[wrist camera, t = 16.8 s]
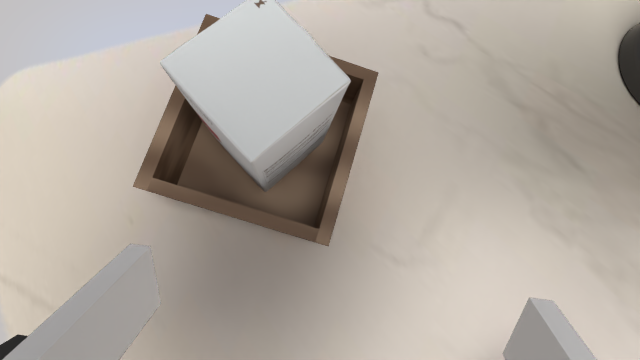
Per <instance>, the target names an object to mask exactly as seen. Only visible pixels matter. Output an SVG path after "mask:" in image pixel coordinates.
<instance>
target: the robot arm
mask: <svg viewBox="0 0 640 360" xmlns="http://www.w3.org/2000/svg"><path fill="white" fill-rule="evenodd" d="M619 62H620V69H621V73H622V76H623V79H624V81H625V83H626V85H627V87H628V89H629V91H630V92H631V94H632V95H633V96H634V98H635V99H636V100H637V101H638V102H639V103H640V23H639V24H638V25H636V26H634V27H633V28H632V29H631V30H630V31H629V32H628V33H627V34H626V36H625V37H624V39H623V41H622V44H621V47H620V54H619ZM160 304H161V300H160V295H159V289H158V284H157V278H156V273H155V267H154V262H153V256H152V251H151V246H144V245H136V244H130V245H128V246H127V247H126V248H125V249H124V250H123V251H122V252H121V253H120V254H118V255H117V256H116V257H115V258H114V259H113V260H112V261H111V262H110V263H109V264H107V265H106V266H105V267H104V268H103V269H102V270H101V271H100V272H99V273H97V274H96V275H95V276H94V277H93V278H92V279H91V280H90V281H89V282H88V283H86V284H85V285H84V286H83V287H82V288H81V289H80V290H79V291H78V292H76V293H75V294H74V295H73V296H72V297H71V298H70V299H69V300H68V301H67V302H65V303H64V304H63V305H62V306H61V307H60V308H59V309H58V310H57V311H55V312H54V313H53V314H52V315H51V316H50V317H49V318H48V319H47V320H46V321H44V322H43V323H42V324H41V325H40V326H39V327H38V328H37V329H36V330H34V331H33V332H32V333H31V334H30V335H29V336H24V335H16V336H15V337H13V338H11V339H10V340H8V341H6V342H5V343H3V344H1V345H0V360H119V359H120V358H121V357H122V355H123V354H124V353H125V351H126V350H127V349H128V347H129V346H130V345H131V343H132V342H133V340H134V339H135V338H136V336H137V335H138V334H139V332H140V331H141V330H142V328H143V327H144V326H145V324H146V323H147V322H148V320H149V319H150V318H151V316H152V315H153V314H154V312H155V311H156V309H157V308H158V307H159V305H160ZM503 356H504V358H505V360H597V359H596V357H595V356H594V355H593V353H592V352H591V351H590V349H589V348H588V347H587V345H586V344H585V343H584V341H583V340H582V339H581V337H580V336H579V335H578V333H577V332H576V331H575V329H574V328H573V327H572V325H571V324H570V323H569V321H568V320H567V318H566V317H565V316H564V314H563V313H562V312H561V310H560V309H559V308H558V306H557V305H556V304H555V302H554V301H552V300H544V299H537V298H530V297H529V299H528V301H527V303H526V305H525V307H524V309H523V312H522V314H521V316H520V318H519V320H518V322H517V324H516V326H515V328H514V331H513V333H512V335H511V337H510V339H509V341H508V343H507V345H506V347H505V350H504V352H503Z"/></svg>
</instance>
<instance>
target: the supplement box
mask: <svg viewBox="0 0 640 360" xmlns="http://www.w3.org/2000/svg"><path fill="white" fill-rule="evenodd" d="M160 64H161V66H162V67H163V69H164V70H165V71H166V73H167V74H168V75H169V77H170V78H171V79H172V81H173V82H174V83H175V85H176V86H177V87H178V89H179V90H180V92H181V93H182V94H183V96H184V97H185V98H186V100H187V101H188V102H189V104H190V105H191V106H192V108H193V109H194V110H195V112H196V113H197V114H198V116H199V117H200V118H201V120H202V121H203V122H204V124H205V125H206V126H207V128H208V129H209V130H210V132H211V133H212V134H213V136H214V137H215V138H216V139H217V140H218V141H219V143H220V144H221V145H222V146H223V147H224V148H225V149H226V150H227V152H228V153H229V154H230V155H231V156H232V157H233V158H234V159H235V160H236V161H237V163H238V164H239V165H240V166H241V167H242V168H243V169H244V170H245V171H246V172H247V173H248V175H249V176H250V177H251V178H252V179H253V180H254V181H255V182H256V183H257V184H258V185H259V186H260V188H261V189H262V190H263V191H265V192H267V191H268V190H269V189H271V188H272V187H273V186H274V185H275V184H276V183H277V182H278V181H280V180H281V179H282V178H283V177H284V176H285V175H286V174H287V173H289V172H290V171H291V170H292V169H293V168H294V167H295V166H297V165H298V164H299V163H300V162H301V161H302V160H303V159H304V158H306V157H307V156H308V155H309V154H310V153H311V152H312V151H313V150H315V149H316V148H317V147H318V146H319V145H320V144H321V143H322V142H323V141H324V138H325V136H326V134H327V131H328V129H329V127H330V125H331V122H332V120H333V118H334V116H335V113H336V111H337V109H338V107H339V105H340V102H341V100H342V98H343V96H344V94H345V92H346V90H347V88H348V86H349V84H350V82H351V80H350V78H349V77H348V76H347V75H346V74H345V73H344V72H343V71H342V70H341V69H340V68H339V67H338V66H337V64H336V63H335V62H334V61H333V60H332V59H331V58H330V57H329V56H328V55H327V54H326V53H325V52H324V51H323V50H322V49H321V48H320V47H319V45H318V44H317V43H316V42H315V41H314V40H313V38H312V37H311V35H310V34H309V33H308V32H307V31H306V30H305V29H304V28H303V27H301V26H300V25H299V24H298V23H297V22H296V21H295V20H294V19H293V18H292V17H291V16H290V15H289V14H288V13H287V12H286V11H285V9H284V8H283V7H282V6H281V5H280V4H279V3H278V2H277V1H276V0H246V1H245V2H243V3H242V4H240V5H239V6H238V7H236V8H235V9H233V10H232V11H231V12H229V13H228V14H226V15H225V16H224V17H222V18H221V19H219V20H218V21H217V22H215V23H214V24H212V25H211V26H209V27H208V28H207V29H205V30H203V31H202V32H201V33H199V34H198V35H196V36H195V37H193V38H192V39H190V40H189V41H187V42H186V43H184V44H183V45H181V46H180V47H179V48H177V49H176V50H175V51H173V52H172V53H171V54H169V55H168V56H167V57H165V58H164V59H163V60H161V62H160Z"/></svg>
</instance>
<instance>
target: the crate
mask: <svg viewBox="0 0 640 360" xmlns="http://www.w3.org/2000/svg"><path fill="white" fill-rule="evenodd" d="M219 19H220V18H217V17H214V16H211V15H208V14H206V15H205V18H204V20H203V22H202V25H201V27H200V29H199V32H198V34H199V33H201V32H202V31H203V30H205V29H207V28H208V27H209V26H211V25H212V24H214V23H215V22H217V21H218V20H219ZM198 34H197V35H198ZM329 57H330V58H331V59H332V60H333V61H334V62H335V63H336V64H337V66H338V67H339V68H340V69H341V70H342V71H343V72H344V73H345V74H346V75H347V76H348V77H349V78H350V80H351V82H350V84H349V86H348V88H347V90H346V92H345V94H344V96H343V98H342V100H341V102H340V105H339V107H338V109H337V111H336V113H335V116H334V118H333V120H332V122H331V125H330V127H329V129H328V131H327V134H326V136H325V138H324V141H323V142H322V143H321V144H320V145H319V146H318V147H317V148H316V149H315V150H313V151H312V152H311V153H310V154H309V155H308V156H307V157H306V158H304V159H303V160H302V161H301V162H300V163H299V164H298V165H297V166H295V167H294V168H293V169H292V170H291V171H290V172H289V173H287V174H286V175H285V176H284V177H283V178H282V179H281V180H280V181H278V182H277V183H276V184H275V185H274V186H273V187H272V188H271V189H269V190H268V191H267V192H265V191H263V190H262V189H261V188H260V186H259V185H258V184H257V183H256V182H255V181H254V180H253V179H252V178H251V177H250V176H249V175H248V173H247V172H246V171H245V170H244V169H243V168H242V167H241V166H240V165H239V164H238V163H237V161H236V160H235V159H234V158H233V157H232V156H231V155H230V154H229V153H228V152H227V150H226V149H225V148H224V147H223V146H222V145H221V144H220V143H219V141H218V140H217V139H216V138H215V137H214V136H213V134H212V133H211V132H210V130H209V129H208V128H207V126H206V125H205V124H204V122H203V121H202V120H201V118H200V117H199V116H198V114H197V113H196V112H195V110H194V109H193V108H192V106H191V105H190V104H189V102H188V101H187V100H186V98H185V97H184V96H183V94H182V93H181V92H180V90H179V89H178V87H177V86H175V88H174V91H173V93H172V95H171V98H170V100H169V102H168V105H167V107H166V109H165V112H164V114H163V116H162V119H161V121H160V123H159V126H158V128H157V131H156V133H155V135H154V138H153V140H152V142H151V145H150V147H149V149H148V152H147V154H146V156H145V159H144V161H143V163H142V166H141V168H140V170H139V173H138V175H137V178H136V180H135V182H134V185H133V187H136V188H139V189H143V190H146V191H149V192H152V193H156V194H159V195H162V196H165V197H169V198H172V199H175V200H178V201H182V202H185V203H188V204H192V205H195V206H198V207H201V208H205V209H208V210H211V211H214V212H218V213H221V214H224V215H228V216H231V217H234V218H237V219H241V220H244V221H247V222H250V223H254V224H257V225H260V226H263V227H267V228H270V229H273V230H277V231H280V232H283V233H286V234H290V235H293V236H296V237H299V238H303V239H306V240H309V241H313V242H316V243H319V244H322V245H326V246H329V243H330V239H331V236H332V232H333V229H334V225H335V222H336V218H337V215H338V211H339V208H340V204H341V201H342V197H343V194H344V190H345V187H346V184H347V180H348V177H349V173H350V170H351V166H352V163H353V159H354V156H355V152H356V149H357V145H358V142H359V138H360V135H361V131H362V128H363V124H364V121H365V118H366V114H367V111H368V107H369V104H370V100H371V97H372V93H373V90H374V86H375V83H376V79H377V76H378V72H375V71H372V70H369V69H366V68H363V67H360V66H357V65H354V64H352V63H349V62H346V61H343V60H340V59H337V58H334V57H331V56H329Z"/></svg>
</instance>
